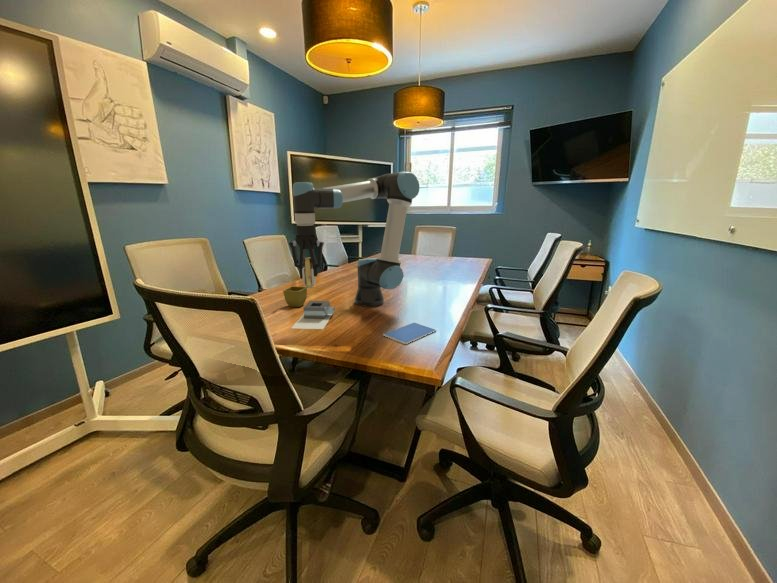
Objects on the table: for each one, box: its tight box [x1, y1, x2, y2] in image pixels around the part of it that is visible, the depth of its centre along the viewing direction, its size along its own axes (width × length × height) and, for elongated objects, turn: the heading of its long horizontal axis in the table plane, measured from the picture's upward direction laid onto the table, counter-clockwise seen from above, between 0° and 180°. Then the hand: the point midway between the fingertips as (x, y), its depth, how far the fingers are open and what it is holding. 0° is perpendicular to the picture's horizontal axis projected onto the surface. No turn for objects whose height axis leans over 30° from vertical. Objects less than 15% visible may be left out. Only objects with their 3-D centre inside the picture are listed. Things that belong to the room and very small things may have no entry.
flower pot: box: [282, 285, 308, 308], centre depth 160 cm, size 9×9×9 cm
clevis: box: [303, 300, 336, 319], centre depth 143 cm, size 12×10×5 cm
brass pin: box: [303, 257, 314, 290], centre depth 128 cm, size 3×3×12 cm
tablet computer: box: [382, 322, 437, 345], centre depth 128 cm, size 19×13×1 cm, turn 136°
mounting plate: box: [291, 313, 333, 330], centre depth 139 cm, size 13×22×2 cm, turn 178°
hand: (309, 284), depth 130 cm, fingers closed on brass pin, 3 cm apart
